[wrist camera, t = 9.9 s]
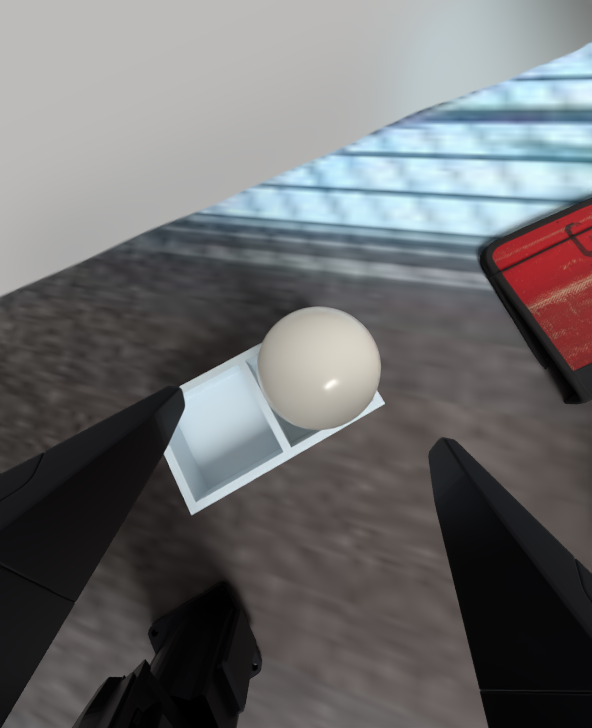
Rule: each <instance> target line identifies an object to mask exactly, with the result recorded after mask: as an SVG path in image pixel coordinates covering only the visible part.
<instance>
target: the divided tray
mask: <svg viewBox="0 0 592 728" xmlns="http://www.w3.org/2000/svg"><path fill="white" fill-rule="evenodd" d="M261 345H262V343H260V344H258V345H257V346H255V347H253V348H251V349H249V350H247V351H245V352H243V353H242V354H240V355H238V356H236V357H234V358H232V359H230V360H228V361H227V362H225V363H223V364H221V365H219V366H217V367H215V368H213V369H212V370H210V371H208V372H206V373H204V374H202V375H200V376H198V377H197V378H195V379H193V380H191V381H189V382H187V383H185V384H183V385H181V386H180V388H181V389H182V391H183V395H184V400H185V409H184V412H183V414H182V416H181V418H180V421H179V423H178V425H177V427H176V429H175V432H174V434H173V436H172V438H171V440H170V442H169V445H168V447H167V449H166V450H165V452H164V455H165V458H166V460H167V462H168V464H169V466H170V469H171V471H172V473H173V475H174V478H175V480H176V482H177V484H178V486H179V489H180V491H181V493H182V495H183V498H184V500H185V502H186V504H187V506H188V509H189V511H190V513H191V515H193V514H195V513H196V512H198V511H200V510H202V509H203V508H205V507H207V506H209V505H210V504H212V503H214V502H216V501H217V500H219V499H221V498H222V497H224V496H226V495H228V494H229V493H231V492H233V491H235V490H236V489H238V488H240V487H241V486H243V485H245V484H247V483H248V482H250V481H252V480H254V479H255V478H257V477H259V476H261V475H262V474H264V473H266V472H267V471H269V470H271V469H273V468H274V467H276V466H278V465H280V464H281V463H283V462H285V461H287V460H288V459H290V458H292V457H293V456H295V455H297V454H299V453H300V452H302V451H304V450H306V449H307V448H309V447H311V446H312V445H314V444H316V443H318V442H319V441H321V440H323V439H325V438H326V437H328V436H330V435H332V434H333V433H335V432H337V431H338V430H340V429H342V428H344V427H345V426H347V425H349V424H351V423H352V422H354V421H356V420H358V419H359V418H361V417H363V416H364V415H366V414H368V413H370V412H371V411H373V410H375V409H377V408H378V407H380V406H382V405H383V404H385V403H384V401H383V400H382V398H381V396H380V395H379V393H378V391H376V393H375V395H374V397H373V399H372V401H371V402H370V404H369V405H368V406H367V408H366V409H365V410H364V411H363V412H362V413H361V414H360V415H359V416H357V417H356V418H355V419H353V420H352V421H350V422H348V423H346V424H344V425H342V426H339V427H336V428H332V429H327V430H311V429H306V428H301V427H299V426H296V425H293V424H291V423H290V422H288V421H286V420H284V419H283V418H282V417H280V416H279V415H278V414H277V413H276V412H275V411H274V410H273V409H272V408H271V407H270V405H269V404H268V403H267V401H266V400H265V398H264V396H263V394H262V392H261V389H260V386H259V383H258V377H257V359H258V354H259V350H260V347H261Z"/></svg>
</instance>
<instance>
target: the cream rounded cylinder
mask: <svg viewBox="0 0 592 728" xmlns="http://www.w3.org/2000/svg"><path fill="white" fill-rule="evenodd" d="M380 373H381V364H380V356H379V352H378V349H377V346H376V343H375V341H374V339H373V337H372V336H371V334H370V333H369V331H368V330H367V329H366V328H365V327H364V326H363V324H362V323H360V322H359V321H358V320H357V319H356V318H354V317H352V316H351V315H349V314H347V313H345V312H343V311H341V310H338V309H334V308H330V307H321V306H319V307H308V308H303V309H300V310H297V311H295V312H292V313H290V314H288V315H287V316H285V317H283V318H282V319H281V320H280V321H278V322H277V323H276V324H275V325H274V326H273V327H272V328H271V329H270V331H269V332H268V334H267V335H266V337H265V339H264V340H263V342H262V345H261V347H260V350H259V354H258V359H257V377H258V383H259V386H260V389H261V392H262V394H263V396H264V398H265V400H266V401H267V403H268V404H269V405H270V407H271V408H272V409H273V410H274V411H275V412H276V413H277V414H278V415H279V416H280V417H282V418H283V419H284V420H286V421H288V422H290V423H291V424H293V425H296V426H299V427H301V428H306V429H311V430H327V429H332V428H336V427H339V426H342V425H344V424H346V423H348V422H350V421H352V420H353V419H355V418H356V417H357V416H359V415H360V414H361V413H362V412H363V411H364V410H365V409H366V408H367V406H368V405H369V404H370V402H371V401H372V399H373V397H374V395H375V393H376V391H377V388H378V385H379V380H380Z"/></svg>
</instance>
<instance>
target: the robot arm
mask: <svg viewBox="0 0 592 728" xmlns="http://www.w3.org/2000/svg"><path fill="white" fill-rule="evenodd" d="M184 409H185V400H184V395H183V391H182V389H181V388H180V387H175V386H167V387H165V388H164V389H162V390H160V391H158V392H156V393H154V394H152V395H150V396H148V397H146V398H145V399H143V400H141V401H139V402H137V403H135V404H133V405H131V406H129V407H128V408H126V409H124V410H122V411H120V412H118V413H116V414H114V415H112V416H110V417H109V418H107V419H105V420H103V421H101V422H99V423H97V424H95V425H93V426H92V427H90V428H88V429H86V430H84V431H82V432H80V433H78V434H76V435H74V436H73V437H71V438H69V439H67V440H65V441H63V442H61V443H59V444H57V445H56V446H54V447H52V448H50V449H48V450H46V451H45V453H44V452H43V453H40V454H38V455H36V456H35V457H33V458H31V459H29V460H27V461H25V462H23V463H21V464H19V465H17V466H15V467H13V468H11V469H9V470H7V471H5V472H3V473H2V474H0V728H1V727H2V725H3V724H4V722H5V720H6V719H7V717H8V715H9V714H10V712H11V710H12V708H13V707H14V705H15V703H16V702H17V700H18V698H19V697H20V695H21V693H22V692H23V690H24V688H25V687H26V685H27V683H28V682H29V680H30V678H31V677H32V675H33V673H34V671H35V670H36V668H37V666H38V665H39V663H40V661H41V660H42V658H43V656H44V655H45V653H46V651H47V650H48V648H49V646H50V645H51V643H52V641H53V640H54V638H55V636H56V634H57V633H58V631H59V629H60V628H61V626H62V624H63V623H64V621H65V619H66V618H67V616H68V614H69V613H70V611H71V609H72V608H73V606H74V604H75V602H76V600H77V599H78V597H79V595H80V594H81V592H82V590H83V589H84V587H85V585H86V584H87V582H88V580H89V579H90V577H91V575H92V574H93V572H94V570H95V569H96V567H97V565H98V563H99V562H100V560H101V558H102V557H103V555H104V553H105V552H106V550H107V548H108V547H109V545H110V543H111V542H112V540H113V538H114V537H115V535H116V533H117V532H118V530H119V528H120V526H121V525H122V523H123V521H124V520H125V518H126V516H127V515H128V513H129V511H130V510H131V508H132V506H133V505H134V503H135V501H136V500H137V498H138V496H139V495H140V493H141V491H142V489H143V488H144V486H145V484H146V483H147V481H148V479H149V478H150V476H151V474H152V473H153V471H154V469H155V468H156V466H157V464H158V463H159V461H160V459H161V458H162V456H163V454H164V452H165V450H166V449H167V447H168V445H169V442H170V440H171V438H172V436H173V434H174V432H175V429H176V427H177V425H178V423H179V421H180V418H181V416H182V414H183V412H184ZM428 457H429V465H430V473H431V480H432V488H433V495H434V501H435V506H436V511H437V515H438V519H439V523H440V527H441V531H442V536H443V540H444V544H445V548H446V552H447V556H448V561H449V565H450V569H451V573H452V577H453V581H454V585H455V590H456V594H457V598H458V602H459V606H460V610H461V615H462V619H463V623H464V627H465V631H466V635H467V639H468V644H469V648H470V652H471V656H472V660H473V664H474V668H475V673H476V677H477V681H478V685H479V689H480V690H481V691H480V694H481V699H482V703H483V707H484V711H485V715H486V719H487V723H488V728H592V573H591V572H590V571H588V570H587V569H586V568H585V567H584V566H583V565H582V564H581V563H580V562H579V561H578V560H577V559H575V558H574V556H573V555H572V554H571V553H570V552H569V551H568V550H567V549H566V548H565V547H564V546H563V545H562V544H561V543H560V542H559V541H558V540H557V539H556V538H555V537H554V536H553V535H552V534H551V533H550V532H549V531H548V530H547V529H546V528H545V527H543V526H542V525H541V524H540V523H539V522H538V521H537V520H536V519H535V518H534V517H533V516H532V515H531V514H530V513H529V512H528V511H527V510H526V509H525V508H524V507H523V506H522V505H521V504H520V503H519V502H518V501H517V500H516V499H515V498H514V497H513V496H512V495H511V494H510V493H509V492H508V491H507V490H506V489H505V488H504V487H503V486H502V485H501V484H500V483H499V482H498V481H497V480H496V479H495V478H493V477H492V476H491V475H490V474H489V473H488V472H487V471H486V470H485V469H484V468H483V467H482V466H481V465H480V464H479V463H478V462H477V461H476V460H475V459H474V458H473V457H472V456H471V455H470V454H469V453H468V452H467V451H466V450H465V449H464V448H463V447H462V446H461V445H460V444H459V443H458V442H457V441H455V440H454V439H450V438H444V437H441V438H439V439H438V441H437V442H436V443H435V444H434V446H433V447H432V448H431V450H430V451H429V456H428ZM220 589H223V590H224V592H221V591H220ZM155 629H157V630H158V632H156V631H155ZM148 635H149V639H150V641H151V644H152V646H153V649H154V651H155V656H154V658H153V660H152V662H151V663H150V665H149V663H148V662H147V661H146V660H144V661H143V662H142V663H141V664H140V665H139V666H138V667H137V668H136V669H135V670H134V671H133V672H132V673H131V674H130V675H128V676H127V677H125V675H124V676H123V677H108V679H107V680H106V681H105V682H104V683H103V684H102V685H101V686H100V687H99V688H98V690H97V691H96V693H95V694H94V696H93V697H92V699H91V700H90V702H89V703H88V704H87V706H86V707H85V709H84V710H83V712H82V713H81V715H80V716H79V718H78V719H77V721H76V722H75V724H74V726H73V727H72V728H237V722H238V717H239V714H240V713H242V712H243V711H244V708H245V704H246V699H247V693H248V687H249V681H250V679H251V678H252V677H254V676H256V675H257V674H258V673H259V672H260V671H261V666H262V658H261V655H260V653H259V651H258V649H257V647H256V639H255V637H254V635H253V633H252V631H251V628H250V626H249V624H248V622H247V620H246V617H245V615H244V613H243V611H242V609H241V608H240V607H238V605H237V602H236V600H235V598H234V596H233V594H232V591H231V589H230V587H229V585H228V583H226V582H224V581H222V582H219V583H218V584H216V585H215V586H213V587H211V588H210V589H208V590H206V591H205V592H203V593H201V594H200V595H198V596H196V597H195V598H193V599H191V600H190V601H188V602H186V603H185V604H183V605H181V606H180V607H178V608H177V609H175V610H173V611H172V612H170V613H168V614H167V615H165V616H163V617H162V618H160V619H158V620H157V621H155V622H154V623H153V624H152V626H151V627H150V629H149V632H148ZM253 663H257V665H253Z"/></svg>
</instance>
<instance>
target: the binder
mask: <svg viewBox="0 0 592 728" xmlns="http://www.w3.org/2000/svg"><path fill="white" fill-rule="evenodd" d="M481 265H482V267H483V269H484V271H485V272H486V274H487V275H488V279H490V281H491V283H492V284H493V286H494V288H495V289H496V291H497V293H498V294H499V296H500V298H501V300H502V301H503V303H504V305H505V306H506V308H507V310H508V311H509V313H510V315H511V317H512V318H513V320H514V322H515V323H516V325H517V327H518V329H519V330H520V332H521V334H522V335H523V337H524V339H525V341H526V343H527V344H528V346H529V348H530V349H531V351H532V352H533V354H534V355H535V357H536V358H537V360H538V361H539V362H540V364H541V365H542V366H543V367H544V368H545V369H547V368H548V367H549V362H548V360H547V358H548V359H549V360H550V361H551V360H553V361H554V362H555V364H556V365H557V366H558V368H559V369H560V371H561V372H562V374H563V375H564V377H565V378H566V379H567V381H568V382H569V384H570V385H571V386H572V388H573V389H574V390H575V391H576V393H575V394H574V395H573V396H572V397H571V398H569V399H566V400H565V401H564V403H565V404H582V403H586V402H588V401H590V400H592V198H590V199H588V200H586V201H584V202H581V203H579V204H577V205H574V206H572V207H570V208H567V209H565V210H563V211H560V212H558V213H556V214H554V215H551V216H549V217H547V218H545V219H542V220H540V221H538V222H536V223H533V224H531V225H529V226H527V227H524V228H522V229H520V230H518V231H516V232H513V233H511V234H509V235H507V236H505V237H503V238H501V239H499V240H497V241H495V242H493V243H492V244H490V245H489V246H488V247H487V248H485V249H484V250H483V252H482V254H481Z"/></svg>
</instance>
